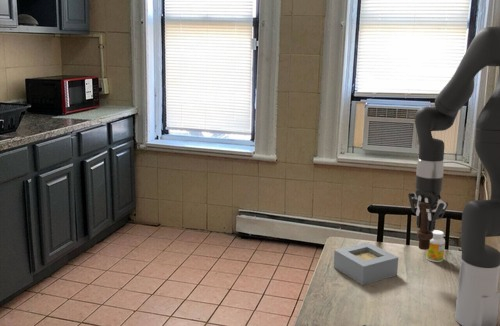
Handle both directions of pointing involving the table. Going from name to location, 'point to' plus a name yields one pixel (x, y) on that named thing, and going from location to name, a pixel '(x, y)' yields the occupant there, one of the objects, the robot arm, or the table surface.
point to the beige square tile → (365, 256)
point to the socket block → (365, 263)
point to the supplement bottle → (436, 247)
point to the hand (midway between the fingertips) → (425, 229)
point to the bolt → (424, 227)
